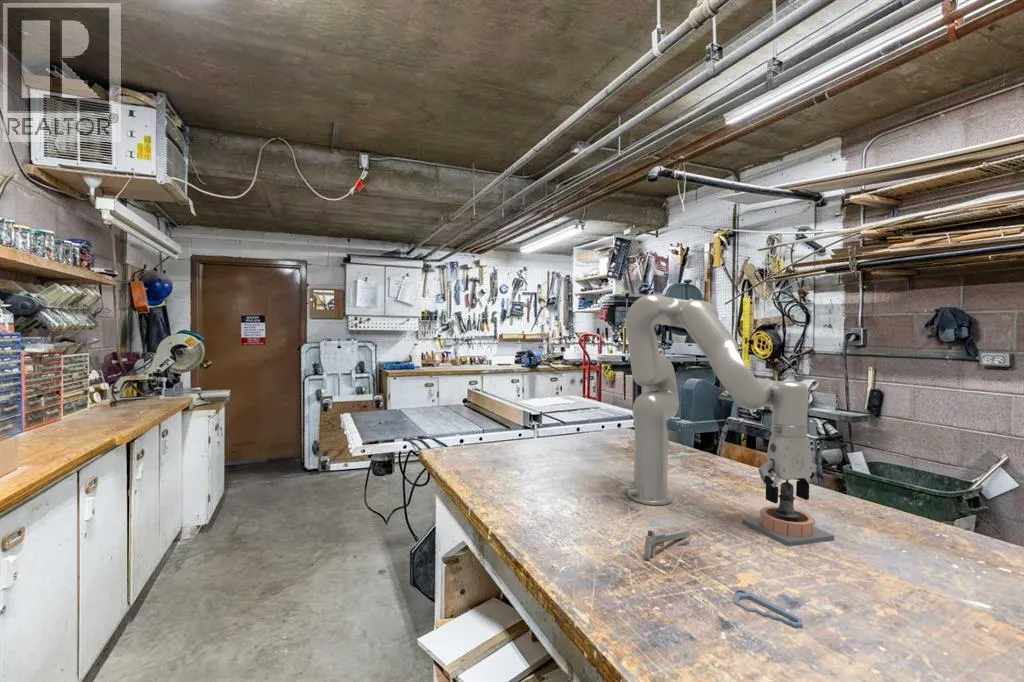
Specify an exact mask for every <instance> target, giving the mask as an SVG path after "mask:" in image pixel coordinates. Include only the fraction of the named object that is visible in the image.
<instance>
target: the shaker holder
mask: <svg viewBox="0 0 1024 682" xmlns="http://www.w3.org/2000/svg"><path fill="white" fill-rule="evenodd" d="M778 507H779V506H773V505H772V506H763V507H762V508H761V509H760V510H759V516H756V517H748V518H747V517H746V518H742V519H741V521H742V522H741V523H742V524H744V525H746V526H748V527H749V526H750V528H751V527H752V529H753V528H754V530H755V531H758V532H760V533H761V534H763V535H765V536H767V537H769V538H771V539H773V540H775V541H777V542H779V543H781V544H783V545H785V546H787V547H794V545H795V546H801V544H802V545H807V544H808V543H809V544H814V543H815V542H816V543H821V541H823V542H829V540H830V541H835V535H834V534H831V533H830V532H828V531H825V530H823V529H820V528H818V527H816V523H815V522H816V520H815V518H814V517H813V516H811V514H808V513H806V512H803V511H801V510H797V509H794V511H796V512H798V513H799V514H800V517H798V521H797V522H789V521H784V520H780V519H776V518H775V516H774V512H773V509H775V508H778ZM816 543H815V544H816ZM809 544H808V545H809Z"/></svg>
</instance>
